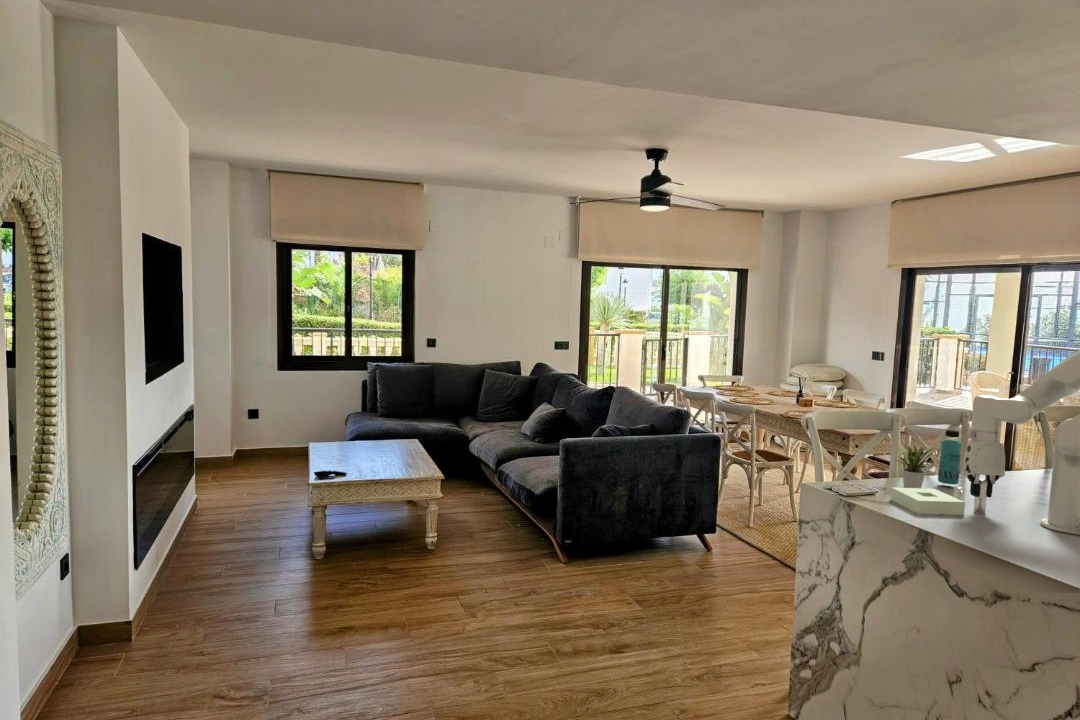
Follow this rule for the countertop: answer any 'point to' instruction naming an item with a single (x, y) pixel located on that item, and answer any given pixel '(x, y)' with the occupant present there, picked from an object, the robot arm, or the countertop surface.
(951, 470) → the beverage bottle
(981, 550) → the countertop surface
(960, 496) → the short pin
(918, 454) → the house plant
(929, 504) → the hole block
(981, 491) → the tall pin
